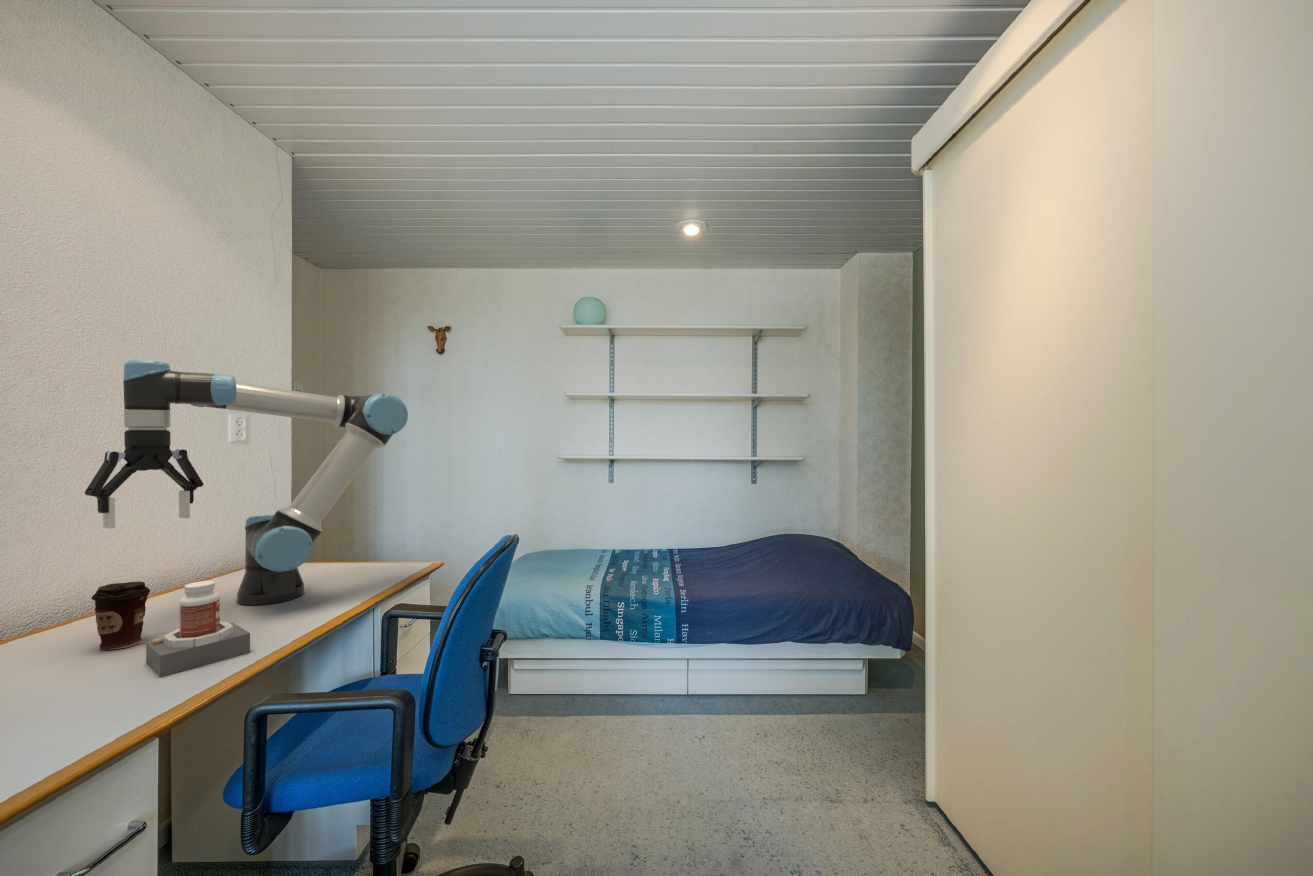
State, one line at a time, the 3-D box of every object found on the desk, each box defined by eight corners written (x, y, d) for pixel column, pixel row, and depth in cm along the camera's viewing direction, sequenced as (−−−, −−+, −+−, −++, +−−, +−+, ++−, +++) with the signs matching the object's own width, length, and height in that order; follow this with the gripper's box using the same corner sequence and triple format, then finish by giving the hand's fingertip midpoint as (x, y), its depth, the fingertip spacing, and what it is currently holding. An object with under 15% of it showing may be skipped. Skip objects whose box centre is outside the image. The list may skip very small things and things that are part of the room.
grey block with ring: (233, 641, 116) (233, 616, 116) (250, 652, 110) (250, 626, 110) (146, 663, 104) (146, 635, 104) (159, 677, 99) (160, 647, 99)
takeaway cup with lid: (110, 655, 108) (110, 592, 108) (79, 651, 109) (80, 589, 109) (158, 639, 116) (158, 580, 116) (129, 636, 118) (129, 578, 118)
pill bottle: (224, 636, 108) (224, 582, 108) (185, 646, 103) (185, 590, 103) (213, 629, 112) (213, 577, 111) (175, 639, 106) (175, 584, 106)
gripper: (201, 429, 132) (202, 513, 132) (61, 428, 109) (62, 531, 109) (220, 429, 129) (221, 515, 130) (81, 429, 106) (82, 533, 106)
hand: (148, 522), depth 119 cm, fingers open, 13 cm apart
